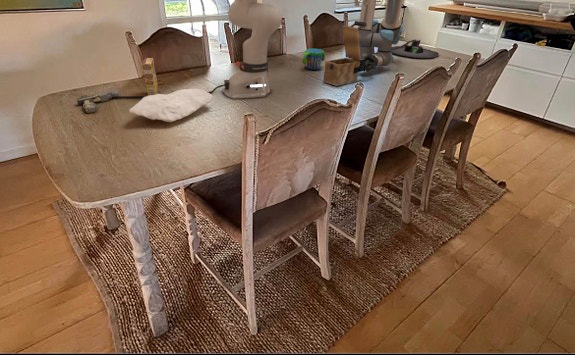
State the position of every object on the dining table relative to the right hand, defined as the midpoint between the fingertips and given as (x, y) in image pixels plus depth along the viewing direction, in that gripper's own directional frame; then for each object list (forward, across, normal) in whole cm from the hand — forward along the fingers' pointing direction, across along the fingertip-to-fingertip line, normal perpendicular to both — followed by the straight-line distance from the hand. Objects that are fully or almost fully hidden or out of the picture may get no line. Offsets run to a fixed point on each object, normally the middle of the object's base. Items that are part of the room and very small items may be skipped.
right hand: (347, 68), depth 192 cm
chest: (+5, 0, -6) cm, 8 cm away
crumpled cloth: (+94, +14, -6) cm, 95 cm away
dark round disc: (-87, +13, -7) cm, 88 cm away
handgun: (+112, +42, -6) cm, 120 cm away
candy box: (+90, +39, -6) cm, 98 cm away
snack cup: (-1, +26, -6) cm, 27 cm away
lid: (-1, 0, +13) cm, 13 cm away
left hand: (-5, 0, +30) cm, 30 cm away
